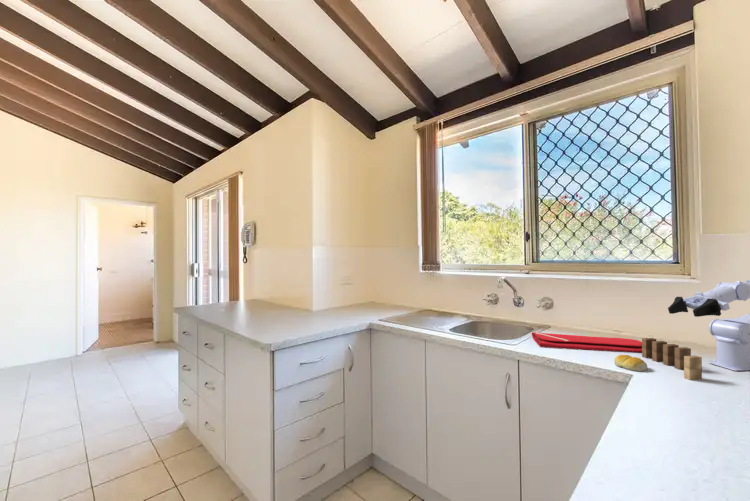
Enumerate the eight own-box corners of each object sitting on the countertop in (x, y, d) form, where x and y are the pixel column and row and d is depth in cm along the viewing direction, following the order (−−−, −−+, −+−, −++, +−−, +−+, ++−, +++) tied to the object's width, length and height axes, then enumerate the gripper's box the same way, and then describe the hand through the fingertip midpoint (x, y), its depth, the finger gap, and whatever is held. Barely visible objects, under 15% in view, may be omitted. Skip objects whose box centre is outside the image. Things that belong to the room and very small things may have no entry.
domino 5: (696, 377, 104) (696, 355, 104) (701, 379, 102) (701, 357, 102) (684, 378, 103) (684, 356, 103) (689, 380, 102) (689, 357, 102)
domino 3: (674, 363, 116) (673, 343, 116) (678, 364, 115) (678, 345, 115) (663, 364, 116) (662, 344, 116) (667, 365, 114) (667, 345, 114)
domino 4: (685, 367, 112) (685, 347, 112) (690, 369, 111) (690, 348, 111) (674, 368, 112) (674, 347, 112) (679, 369, 110) (679, 349, 110)
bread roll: (626, 362, 119) (626, 351, 119) (652, 370, 110) (652, 359, 110) (607, 364, 117) (607, 352, 117) (632, 373, 108) (632, 361, 108)
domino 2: (662, 359, 120) (662, 340, 120) (667, 361, 119) (667, 342, 119) (652, 360, 120) (652, 341, 120) (656, 361, 118) (656, 342, 118)
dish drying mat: (654, 355, 127) (654, 345, 127) (540, 348, 137) (540, 339, 137) (632, 343, 142) (632, 335, 142) (531, 338, 152) (531, 330, 152)
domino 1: (652, 356, 124) (652, 337, 124) (656, 357, 123) (656, 339, 123) (642, 356, 124) (641, 338, 124) (646, 358, 122) (645, 339, 122)
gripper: (685, 287, 118) (656, 298, 116) (735, 289, 104) (703, 302, 102) (691, 305, 118) (662, 317, 116) (742, 310, 104) (710, 324, 102)
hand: (681, 312), depth 109 cm, fingers open, 7 cm apart
